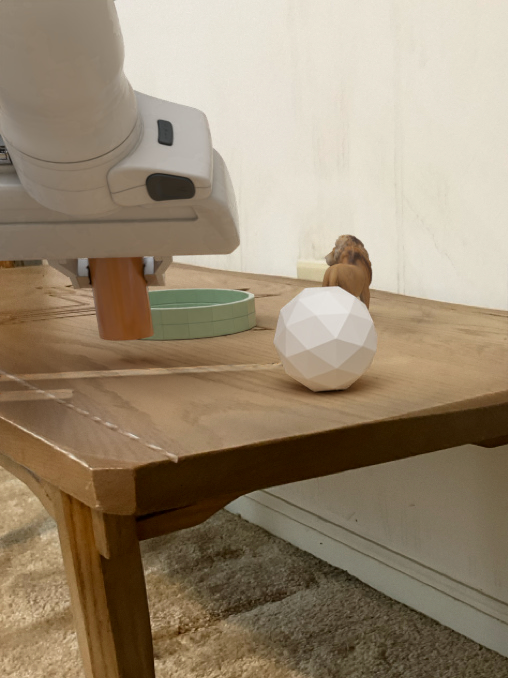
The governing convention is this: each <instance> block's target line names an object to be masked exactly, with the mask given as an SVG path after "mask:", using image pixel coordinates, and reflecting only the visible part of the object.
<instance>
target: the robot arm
mask: <svg viewBox="0 0 508 678" xmlns="http://www.w3.org/2000/svg"><path fill="white" fill-rule="evenodd" d="M115 1H116V0H0V137H1V138H2V141H3V145H0V262H5V261H6V262H9V261H11V262H12V261H37V260H38V261H45V260H46V261H47V264H48V265H49V266H50V267H52V268H53V269H55V270H56V271H58V272H59V273H60V274H63V275H64V276H65V277H66V278H69V280H70V282H71V284H72V288H73V289H74V290H80V289H92V285H91V279H90V272H89V266H88V260H87V258H118V257H144V266H145V267H144V277H145V280H146V284H147V286H148V287H166V271H167V270H168V269H169V267H170V266H171V264H172V263H173V262H174V257H183V256H186V257H187V256H211V255H212V256H218V255H219V256H220V255H221V256H222V255H223V256H225V255H226V256H227V255H231V254H232V253H234V252H235V251H236V250H237V249H238V248H239V246H240V245H241V229H240V219H239V217H240V216H239V209H238V204H237V198H236V197H237V196H236V194H235V189H234V185H233V181H232V179H231V178H232V177H231V175H230V172H229V170H228V166H227V164H226V162H225V160H224V158H223V157H222V155H221V154H220V152H219V151H218V150H217V149H216V148H214V147H213V140H212V138H213V137H212V134H211V128H210V125H209V120H208V117H207V115H206V113H205V112H203V110H200V109H198V108H196V107H193V106H188V105H184V104H181V103H177V102H174V101H173V102H172V101H169V100H166V99H162V98H158V97H155V96H152V95H149V94H146V93H144V92H141V91H138V90H136V89H134V88H133V86H132V84H131V83H130V81H129V78H128V77H127V76H126V73H125V70H124V65H125V54H126V53H125V51H126V50H125V42H124V37H123V32H122V28H121V27H122V26H121V23H120V19H119V15H118V11H117V7H116V4H115Z"/></svg>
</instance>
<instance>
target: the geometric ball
mask: <svg viewBox="0 0 508 678" xmlns="http://www.w3.org/2000/svg"><path fill="white" fill-rule="evenodd" d="M369 311H370V310H369ZM369 311H368V309H367V307H366V305H365V304H364V303H363V302H361V301H360V298H358V297H357V298H356V297H355V296H353V295H352V294H350V293H348V292H347V291H345V290H343V289H342V288H340V287H339V286H335V287H322V286H317V287H315V286H314V287H305V288H304V289H302V290H301V291H299V292H298V294H296V296H294V297H293V298H292V299H291V300H290V301H288V302H287V303H286V304H285V305H284V306H283V307H281V308H280V310H279V315H278V319H277V324H276V328H275V333H274V337H273V341H272V342H273V345H274V348H275V351H276V353H277V355H278V357H279V360H280V362H281V365H282V367H283V370H284V372H285V374H286V375H287V376H289V377H290V378H292V379H293V380H294V381H297V382H298V383H300V384H301V385H302V386H305V387H306V388H308V389H309V390H311V391H312V392H314V393H315V392H327V391H341V390H347V389H348V388H349V387H350V386H352V385H353V384H354V383H355V382H356V381H358V379H360V378H361V377H362V376H363V375H364V374H365V373H366V372H368V371H369V370H370V369H371V367H372V365H373V362H374V359H375V356H376V354H377V351H378V349H377V348H378V338H379V337H378V333H377V329H376V326H375V323H374V321H373V318H372V316H371V314H370V312H369Z"/></svg>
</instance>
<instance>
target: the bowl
mask: <svg viewBox="0 0 508 678" xmlns="http://www.w3.org/2000/svg"><path fill="white" fill-rule="evenodd" d="M149 297H150V304H151V312H152V320H153V327H154V335H153V336H151V337H148V338H143V339H139V340H141V341H142V340H143V341H145V340H146V341H172V340H173V341H176V340H193V339H195V340H196V339H204V338H214V337H221V336H228V335H233V334H237V333H241V332H245V331H248V330H250V329H252V328H254V327H256V326H257V314H256V312H257V311H256V310H257V309H256V300H255V298H256V297H255V294H254V293H252V292H250V291H245V290H238V289H229V288H206V287H205V288H202V287H201V288H200V287H199V288H195V287H193V288H170V289H169V288H168V289H155V290H149Z"/></svg>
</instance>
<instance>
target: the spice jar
mask: <svg viewBox="0 0 508 678" xmlns="http://www.w3.org/2000/svg"><path fill="white" fill-rule="evenodd" d="M86 259H87V260H88V266H89V272H90V279H91V285H92V288H91V291H92V298H93V305H94V310H95V317H96V323H97V329H98V335H99V338H100V340H104V341H111V342H123V341H124V342H125V341H136V340H140V339H143V338H148V337H151V336H153V335H154V327H153V320H152V312H151V304H150V297H149V291H150V290H149V286H147V284H146V280H145V277H144V267H145V266H144V257H118V258H86Z"/></svg>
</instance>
